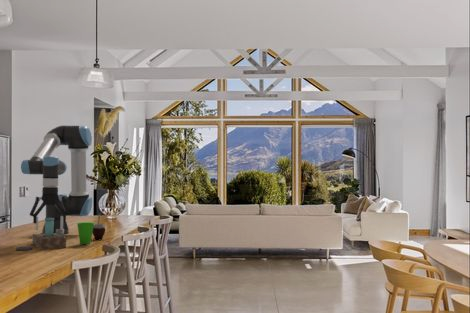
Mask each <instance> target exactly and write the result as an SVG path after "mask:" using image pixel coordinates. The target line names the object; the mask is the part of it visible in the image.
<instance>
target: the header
mask: <svg viewBox="0 0 470 313" xmlns="http://www.w3.org/2000/svg"><path fill="white" fill-rule="evenodd" d="M31 241H32V245H34V246H35V247H36V248H38V249H40V250H48V249H49V250H50V249H51V250H52V248H53V249H65V248H66V249H67V237H65V234H64V229H56V233H53V236H51V237H45V234H42V233H32V240H31Z"/></svg>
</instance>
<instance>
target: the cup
mask: <svg viewBox="0 0 470 313" xmlns="http://www.w3.org/2000/svg"><path fill="white" fill-rule="evenodd" d="M76 225H77V231H78V240H79V244H80V245H81V244H89V245H91V243H92V236H93V227H94V225H96V224H95V222H91V221H90V222H89V221H84V222H77V223H76Z"/></svg>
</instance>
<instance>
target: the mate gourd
mask: <svg viewBox="0 0 470 313" xmlns="http://www.w3.org/2000/svg"><path fill="white" fill-rule="evenodd" d="M100 218H101V212H100V213H98V217H97V220H98V221H97V224H94V227H93V232H92V236H93V237H94V238H93V239H98V240H99V239H102V238H103V237H104V235H105V233H106V227H105V225H104V224H100ZM103 239H104V238H103Z"/></svg>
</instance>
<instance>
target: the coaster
mask: <svg viewBox="0 0 470 313" xmlns="http://www.w3.org/2000/svg"><path fill="white" fill-rule="evenodd" d="M32 249H33V247H32V246H18V247H16V249H15V250H16V252H17V251H19V252H20V251H21V252H26V251H27V250H28V251H32Z"/></svg>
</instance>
